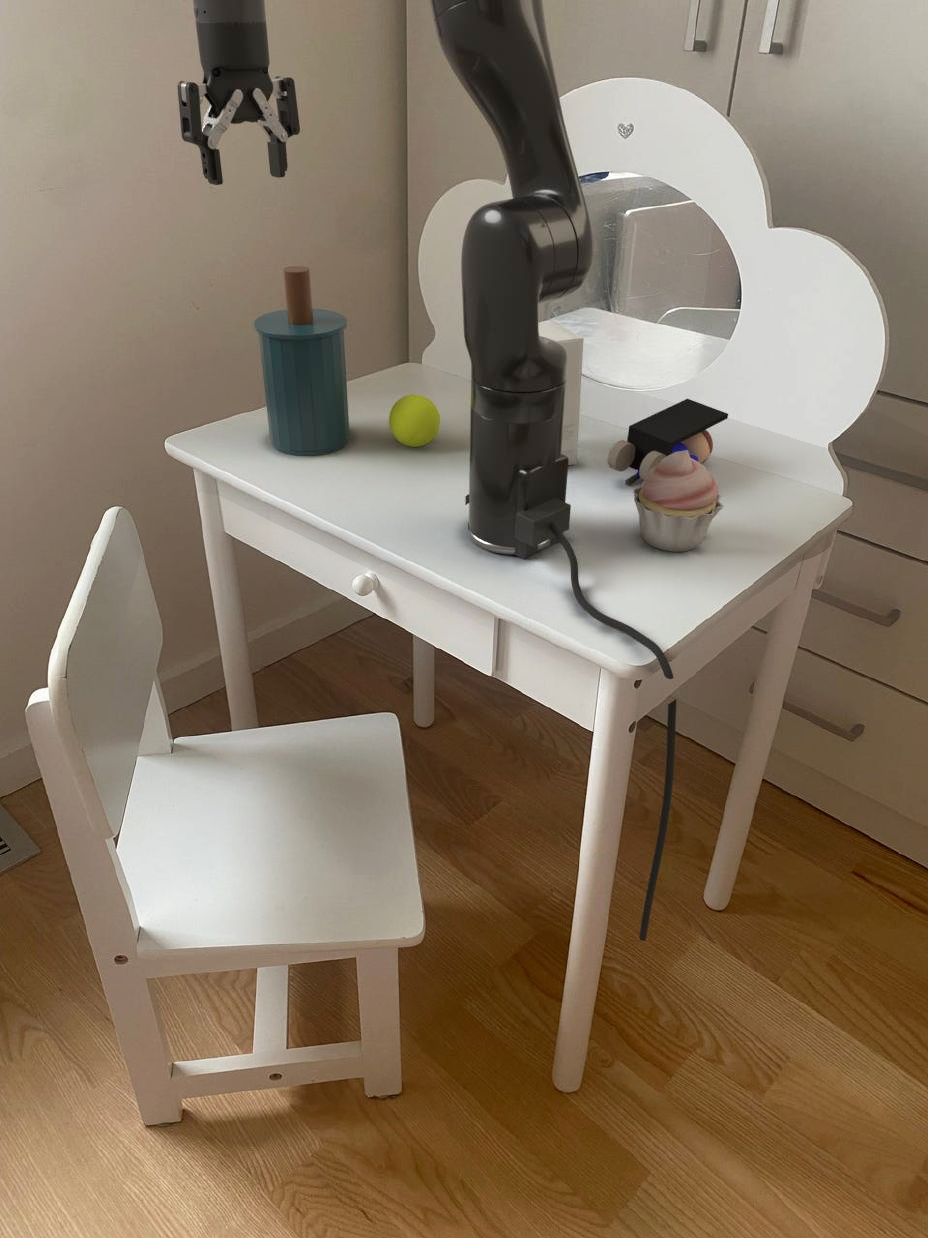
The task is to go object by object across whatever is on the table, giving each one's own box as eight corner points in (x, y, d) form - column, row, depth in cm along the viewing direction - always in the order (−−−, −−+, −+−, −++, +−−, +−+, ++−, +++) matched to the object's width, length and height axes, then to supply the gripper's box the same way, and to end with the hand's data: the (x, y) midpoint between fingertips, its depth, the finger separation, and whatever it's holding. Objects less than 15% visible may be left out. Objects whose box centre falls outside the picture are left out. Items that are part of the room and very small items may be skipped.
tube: (365, 441, 122) (360, 326, 114) (300, 462, 117) (290, 343, 108) (319, 419, 128) (310, 308, 120) (255, 438, 123) (242, 324, 114)
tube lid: (366, 331, 115) (363, 270, 111) (289, 350, 108) (283, 286, 104) (311, 311, 121) (307, 253, 117) (236, 328, 115) (229, 267, 111)
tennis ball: (450, 445, 122) (450, 396, 118) (412, 459, 118) (411, 409, 114) (417, 430, 125) (416, 383, 122) (379, 443, 122) (377, 395, 118)
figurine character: (649, 514, 109) (725, 463, 117) (653, 455, 105) (731, 406, 112) (603, 495, 113) (679, 447, 121) (605, 437, 109) (683, 391, 116)
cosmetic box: (577, 465, 117) (588, 338, 108) (528, 473, 115) (535, 344, 106) (547, 440, 123) (555, 318, 115) (500, 447, 121) (504, 323, 113)
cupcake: (730, 557, 98) (747, 467, 93) (642, 562, 97) (653, 472, 92) (699, 515, 106) (713, 430, 100) (617, 520, 105) (626, 434, 99)
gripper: (189, 19, 97) (211, 191, 106) (305, 17, 106) (315, 178, 115) (153, 17, 102) (177, 182, 111) (266, 16, 110) (280, 170, 119)
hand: (247, 180), depth 113 cm, fingers open, 8 cm apart
